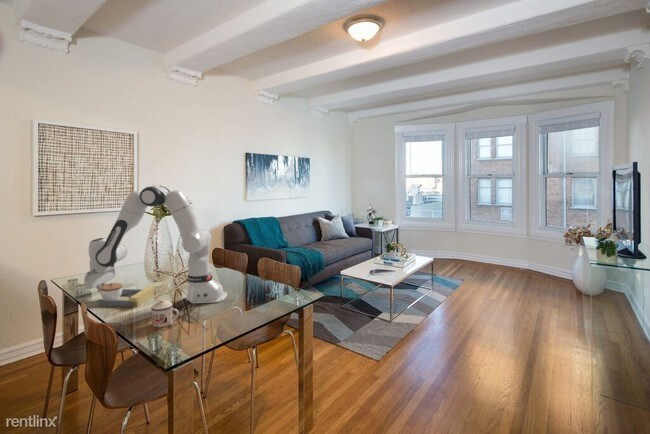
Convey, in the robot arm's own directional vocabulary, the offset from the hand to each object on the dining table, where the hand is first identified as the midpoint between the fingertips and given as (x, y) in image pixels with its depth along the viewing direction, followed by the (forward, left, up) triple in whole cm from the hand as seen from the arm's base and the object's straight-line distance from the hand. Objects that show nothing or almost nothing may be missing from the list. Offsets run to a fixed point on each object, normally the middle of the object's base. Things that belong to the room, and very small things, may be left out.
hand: (101, 291), depth 188 cm
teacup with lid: (-51, +27, -5) cm, 58 cm away
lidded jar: (-6, 0, -5) cm, 8 cm away
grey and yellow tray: (-16, 0, -5) cm, 16 cm away
